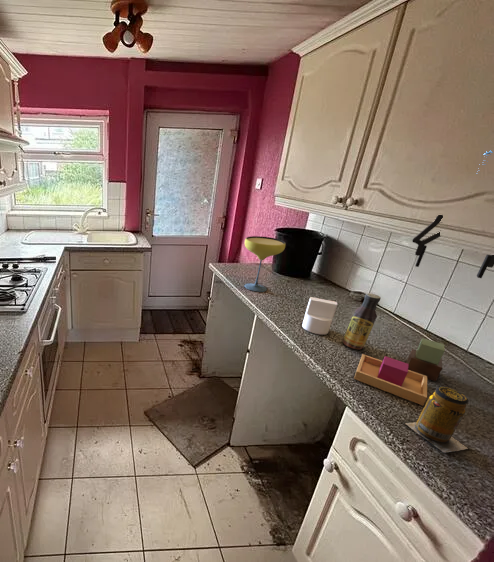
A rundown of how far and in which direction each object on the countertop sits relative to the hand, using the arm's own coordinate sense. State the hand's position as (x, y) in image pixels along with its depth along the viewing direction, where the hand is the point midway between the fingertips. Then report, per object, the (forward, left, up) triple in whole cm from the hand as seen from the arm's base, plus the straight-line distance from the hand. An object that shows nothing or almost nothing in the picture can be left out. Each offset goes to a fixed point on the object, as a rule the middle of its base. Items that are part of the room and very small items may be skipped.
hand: (446, 271), depth 95 cm
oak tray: (+4, +23, -31) cm, 39 cm away
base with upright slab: (+28, +3, -31) cm, 42 cm away
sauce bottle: (+15, +7, -31) cm, 35 cm away
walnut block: (-3, +9, -31) cm, 32 cm away
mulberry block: (+4, +23, -30) cm, 38 cm away
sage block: (-3, +9, -26) cm, 27 cm away
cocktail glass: (+61, -22, -31) cm, 72 cm away
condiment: (-6, +41, -31) cm, 52 cm away
